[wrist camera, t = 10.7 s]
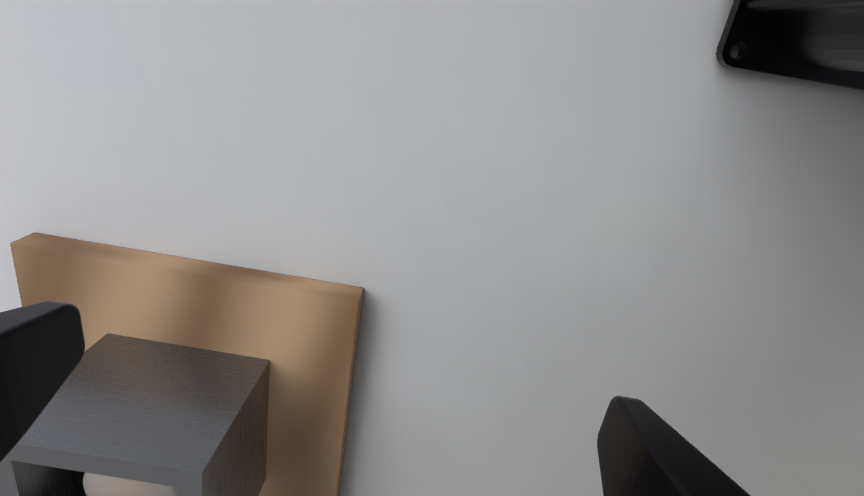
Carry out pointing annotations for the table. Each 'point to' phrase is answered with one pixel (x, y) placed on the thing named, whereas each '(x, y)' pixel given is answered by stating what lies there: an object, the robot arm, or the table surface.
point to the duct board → (218, 341)
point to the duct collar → (149, 423)
